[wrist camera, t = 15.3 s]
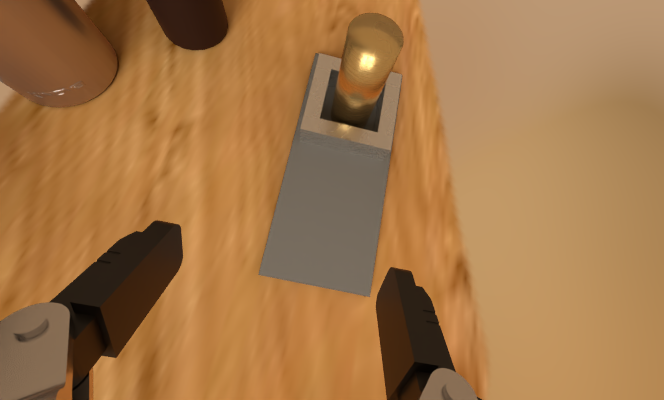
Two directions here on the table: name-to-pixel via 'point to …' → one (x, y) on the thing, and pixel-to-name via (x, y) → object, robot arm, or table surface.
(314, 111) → the collar
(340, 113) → the pin
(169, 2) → the bottle
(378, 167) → the grey base plate
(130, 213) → the table surface
